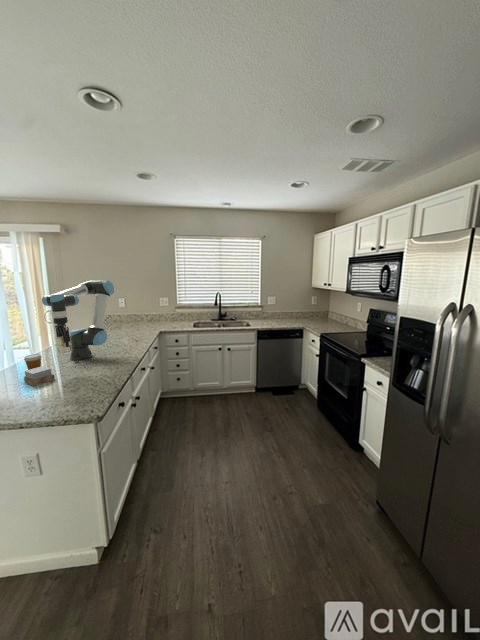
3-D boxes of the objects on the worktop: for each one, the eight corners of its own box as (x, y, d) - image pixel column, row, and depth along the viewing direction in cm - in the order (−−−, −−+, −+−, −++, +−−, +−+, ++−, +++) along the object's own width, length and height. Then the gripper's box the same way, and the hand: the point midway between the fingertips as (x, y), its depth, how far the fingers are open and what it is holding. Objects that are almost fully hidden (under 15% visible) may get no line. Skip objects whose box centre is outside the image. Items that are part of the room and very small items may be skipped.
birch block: (67, 349, 180) (65, 335, 178) (72, 350, 177) (70, 336, 175) (58, 351, 175) (55, 337, 173) (62, 353, 172) (60, 338, 170)
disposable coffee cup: (29, 371, 181) (26, 354, 179) (45, 369, 185) (43, 353, 182) (23, 376, 173) (21, 359, 170) (41, 374, 176) (38, 357, 174)
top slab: (43, 371, 171) (42, 365, 170) (51, 374, 166) (50, 368, 166) (25, 377, 162) (24, 370, 162) (33, 380, 158) (32, 373, 157)
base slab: (46, 376, 173) (45, 370, 173) (55, 380, 167) (54, 374, 166) (24, 382, 164) (23, 376, 163) (32, 387, 157) (31, 381, 156)
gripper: (47, 316, 173) (52, 349, 178) (60, 319, 163) (65, 354, 168) (59, 315, 180) (64, 347, 184) (73, 317, 170) (78, 351, 174)
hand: (65, 350), depth 176 cm, fingers closed on birch block, 6 cm apart
